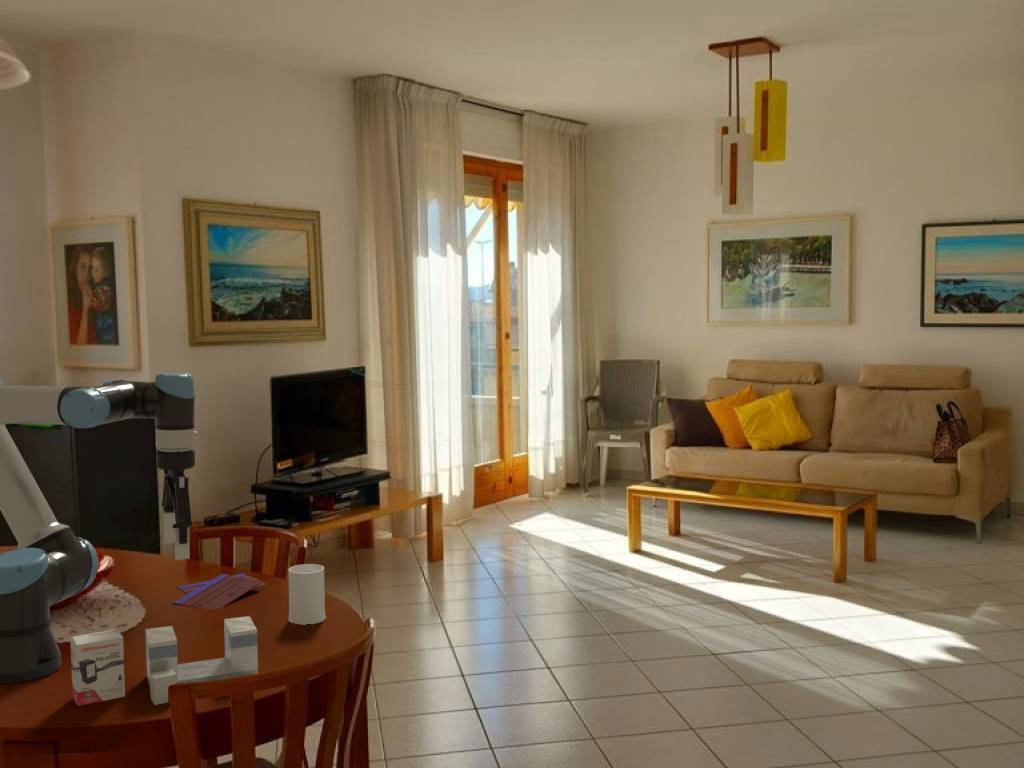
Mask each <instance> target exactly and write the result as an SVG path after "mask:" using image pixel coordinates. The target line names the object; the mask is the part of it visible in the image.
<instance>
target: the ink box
mask: <svg viewBox="0 0 1024 768" xmlns="http://www.w3.org/2000/svg"><path fill="white" fill-rule="evenodd" d="M69 642H70V661H71V662H70V664H71V665H70V666H71V682H72V699H73V701H74V703H75V704H76V706H77V707H81V706H86V705H90V704H95V703H96V704H97V703H100V702H105V701H111V700H115V699H119V698H124V697H126V684H125V679H126V678H125V659H124V658H125V655H124V636H123V634H122V633H121V632H120V631H119V630H117V629H110V630H101V631H98V632H90V633H87V634H86V633H85V634H80V635H75V636H73V637H70V641H69Z"/></svg>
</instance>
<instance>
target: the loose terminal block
mask: <svg viewBox="0 0 1024 768" xmlns="http://www.w3.org/2000/svg"><path fill="white" fill-rule="evenodd" d="M173 684H177V676H176V673H175V672H174V671H173V670H172V669H170V670H166V671H161V672H156V673H151V674H150V687H149V690H150V689H151V692H150V700H151V702H152V703H153V704H154V706H157V705H160V704H162V705H163V704H166V703H169V702H168V687H169V686H170V685H173Z"/></svg>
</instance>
